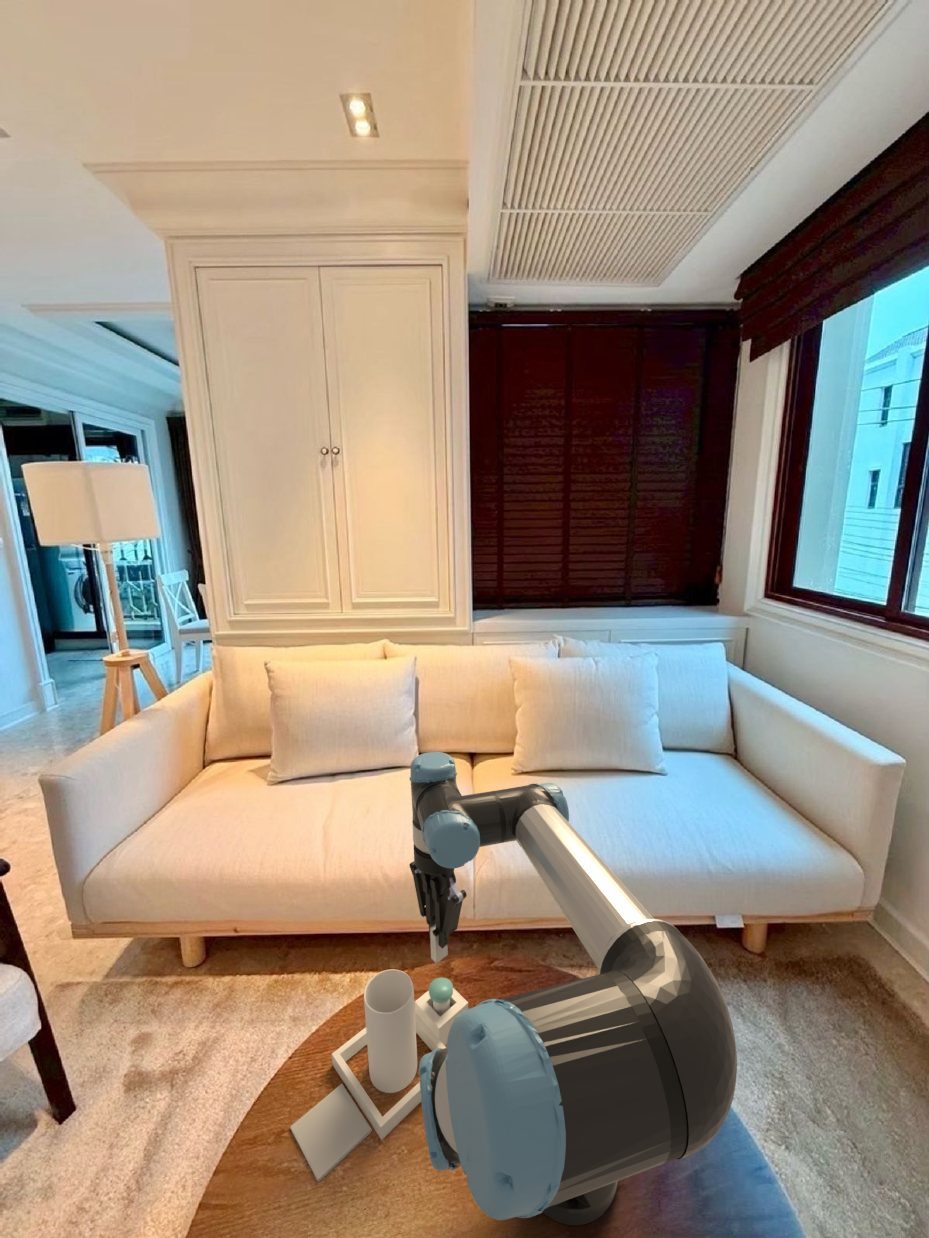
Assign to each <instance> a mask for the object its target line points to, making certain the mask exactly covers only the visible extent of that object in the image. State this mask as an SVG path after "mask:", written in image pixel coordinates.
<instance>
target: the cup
mask: <svg viewBox="0 0 929 1238" xmlns="http://www.w3.org/2000/svg"><path fill="white" fill-rule="evenodd" d="M414 989H415V988H414V983H413V981H412V978H411V977H410V976H409V975H408V973H406V972H405V971H402V970H399V969H394V968H393V969H391V968H390V969H386V970H382V971H380V972H378V973H376V974H375V975H373V976H372V977H371V978H370V979H369V980H368V982H367V983H366V985H365V987H364V991H363V1005H364V1017H365V1027H366V1034H367V1045H366V1046H367V1058H368V1059H367V1060H368V1072H369V1078H370V1081H371V1083H372V1085H373V1086H374V1087H375V1088H376V1089H377V1090H378V1091H380V1092H382V1093H386V1094H395V1093H398V1092H401V1091H402V1090H404V1089H406V1088H407V1087H408V1086H409V1085H410V1084H411V1083H412V1081H413V1080H414V1078H415V1076H416V1074H417V1072H418V1071H417V1070H418V1048H417V1047H418V1046H417V1033H416V1024H415V990H414Z"/></svg>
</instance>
